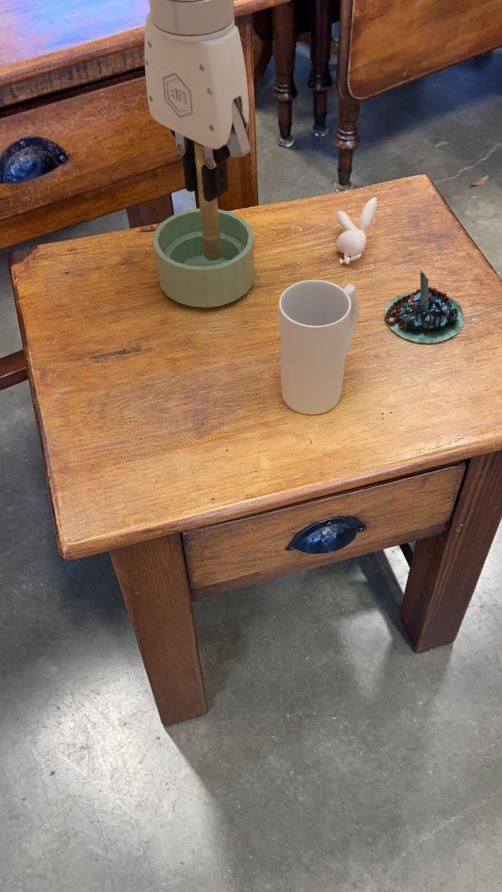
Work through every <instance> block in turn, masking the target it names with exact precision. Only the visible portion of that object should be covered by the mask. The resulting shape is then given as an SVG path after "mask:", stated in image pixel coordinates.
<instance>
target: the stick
mask: <svg viewBox="0 0 502 892" xmlns="http://www.w3.org/2000/svg"><path fill="white" fill-rule="evenodd" d="M194 152H195V162H196V173H197V184H198V189H197V193H198V205H199V208H200V216H201V227H202V238H203V248H204V257H205V258H206V259H207V260H210V261H215V260H218V259H220V257H221V242H220V228H219V214H218V209H219V202H218V197H217V198H216V199H214V200H213V201H211V202H208V201H206V200H205V199H204V195H203V184H202V173H201V168H202V166H203V165H205V158H204V146H203V145H201V144H199V143H197V142H195V141H194Z"/></svg>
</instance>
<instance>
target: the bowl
mask: <svg viewBox="0 0 502 892" xmlns="http://www.w3.org/2000/svg"><path fill="white" fill-rule="evenodd" d="M218 214H219V228H220V242H221V257H220V259H218V260H215V261H210V260H207V259H206V258H205V257H204V248H203V238H202V227H201V216H200V207H199V208H193V209H187V210H184V211H180V212H177V213H175V214H173V215H171V216H170V217H168V218H166V219H164V220H163V221H162V222H161V223H160V224H159V225H158V227H157V228H155V230H154V234H153V237H152V245H153V252H154V253H153V254H154V258H155V266H156V274H157V279H158V283H159V287H160V289H161V290H162V292H163V293H164V294H165V295H166V296H167V297H168V298H170V299H172V300H173V301H174V302H176V303H179V304H182V305H184V306H185V305H186V306H189V307H193V308H213V307H221V306H224V305H225V306H226V305H227V304H231V303H232V302H235V301H237V300H239V299H241V298H242V297H243V296H244V295H246V294H247V293H248V292H249V290H250V289H251V287H252V286H253V285H254V283H255V276H256V261H255V258H256V257H255V255H256V254H255V235H254V232H253V229H252V227H251V225H250V224H249V223H248V222H247V221H246V220H245V218H242V217H241V216H240V215H237V214H235V213H233V212H231V211H227V210H223V209H220V208H218Z"/></svg>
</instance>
